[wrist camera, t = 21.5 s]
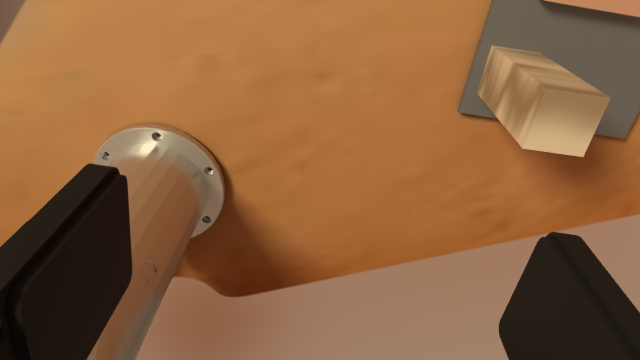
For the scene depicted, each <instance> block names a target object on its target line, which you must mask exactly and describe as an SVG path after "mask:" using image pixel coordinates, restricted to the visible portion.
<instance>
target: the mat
mask: <svg viewBox="0 0 640 360" xmlns="http://www.w3.org/2000/svg"><path fill="white" fill-rule="evenodd" d="M491 46H499V47H505V48H512V49H519V50H525V51H532V52H539V53H541V54H543V55H544V56H546V57H548V58H549V59H551V60H552V61H554V62H555V63H557V64H559V65H560V66H562V67H563V68H565V69H566V70H568V71H570V72H571V73H573V74H574V75H576V76H577V77H579V78H581V79H582V80H584V81H585V82H587V83H588V84H590V85H591V86H593V87H595V88H596V89H598V90H599V91H601V92H602V93H604V94H606V95H607V96H609V97H610V98H611V99H610V101H609V103H608V105H607V107H606V109H605V112H604V114H603V116H602V118H601V120H600V122H599V124H598V127H597V129H596V131H595V133H594V134H597V135H603V136H609V137H616V138H622V139H625V138H626V136H627V134H628V132H629V130H630V128H631V126H632V124H633V123H634V121H635V119H636V117H637V115H638V113H639V111H640V17H636V16H630V15H625V14H619V13H613V12H607V11H601V10H596V9H590V8H584V7H578V6H572V5H567V4H561V3H555V2H549V1H544V0H492V3H491V6H490V9H489V12H488V15H487V19H486V22H485V25H484V28H483V31H482V34H481V37H480V41H479V44H478V47H477V50H476V53H475V56H474V59H473V63H472V66H471V69H470V72H469V75H468V78H467V82H466V85H465V88H464V91H463V94H462V97H461V100H460V104H459V107H458V112H459V113H465V114H471V115H477V116H484V117H490V118H496V119H498V118H497V117H496V116H495V114H494V113H493V112H492V111H491V110H490V108H489V107H488V106H487V105H486V104H485V102H484V101H483V100H482V99H481V98H480V96H479V95H478V94H477V91H478V88H479V84H480V81H481V78H482V75H483V72H484V69H485V65H486V62H487V59H488V56H489V53H490V50H491Z"/></svg>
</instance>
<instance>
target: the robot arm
mask: <svg viewBox="0 0 640 360" xmlns="http://www.w3.org/2000/svg"><path fill="white" fill-rule="evenodd" d="M158 133H159V134H160V135H159V134H158ZM209 167H210V168H212V169H210V168H209ZM224 200H225V183H224V177H223V174H222V172H221V169H220V167H219V165H218V163H217V162H216V160H215V158H214V157H213V156H212V154H211V153H210V152H209V151H208V150H207V149H206V148H205V147H204V146H203V145H202V144H201V143H199V142H198V141H197V140H196V139H194V138H193V137H191V136H189V135H187V134H186V133H184V132H182V131H179V130H177V129H174V128H171V127H168V126H162V125H157V124H141V125H135V126H130V127H127V128H125V129H122V130H120V131H118V132H117V133H115V134H114V135H112V136H111V137H110V138H109V139H108V140H107V141H105V142H104V143H103V144H102V146H101V147H100V148H99V149H98V151H97V153H96V155H95V158H94V160H93V163H92V164H87V165H86V166H85V167H84V168H83V169H82V170H81V171H80V172H79V173H78V174H77V175H76V176H74V177H73V178H72V179H71V180H70V181H69V182H68V183H67V184H66V185H65V186H64V187H63V188H62V189H61V190H60V191H59V192H58V193H57V194H56V195H55V196H54V197H53V198H52V199H51V200H50V201H49V202H48V203H47V204H46V205H45V206H44V207H43V208H42V209H41V210H39V211H38V212H37V213H36V214H35V215H34V216H33V217H32V218H31V219H30V220H29V221H27V222H26V223H25V224H24V225H23V226H22V227H21V228H20V229H19V230H18V231H17V232H16V233H15V234H14V235H13V236H12V237H11V238H10V239H8V240H7V241H6V242H5V243H4V244H3V245H2V246H1V247H0V360H135V359H136V357H137V354H138V352H139V350H140V348H141V345H142V343H143V341H144V339H145V336H146V334H147V332H148V330H149V327H150V325H151V323H152V321H153V319H154V316H155V314H156V312H157V310H158V308H159V306H160V303H161V301H162V299H163V297H164V295H165V292H166V290H167V288H168V286H169V284H170V282H171V279H172V277H173V275H174V273H175V271H176V269H177V267H178V264H179V262H180V260H181V258H182V256H183V254H184V251H185V249H186V247H187V245H188V243H189V240H190V238H193V237H196V236H198V235H199V234H201V233H203V232H205V231H206V230H207V229H208V228H209V227H211V226H212V225H213V223H214V222H215V221H216V219H217V218H218V216H219V214H220V212H221V209H222V207H223V203H224ZM499 335H500V338H501V341H502V343H503V346H504V348H505V351H506V353H507V356H508V358H509V360H640V313H639V311H638V310H637V309H636V307H635V306H634V305H633V304H632V302H631V301H630V300H629V298H628V297H627V296H626V295H625V293H624V292H623V291H622V289H621V288H620V287H619V286H618V284H617V283H616V282H615V280H614V279H613V278H612V277H611V275H610V274H609V273H608V271H607V270H606V269H605V268H604V266H603V265H602V264H601V263H600V261H599V260H598V259H597V257H596V256H595V255H594V253H593V252H592V251H591V250H590V248H589V247H588V246H587V245H586V243H585V242H584V241H583V239H582V238H581V237H579V236H576V235H570V234H564V233H557V232H551V233H549V234H548V235H547V236H546V237H542V238H540V239H539V241H538V242H537V245H536V246H535V249H534V251H533V253H532V255H531V257H530V259H529V261H528V263H527V265H526V267H525V269H524V272H523V274H522V276H521V278H520V280H519V282H518V284H517V286H516V289H515V290H514V293H513V294H512V297H511V299H510V301H509V303H508V305H507V307H506V309H505V311H504V313H503V315H502V318H501V320H500V323H499Z"/></svg>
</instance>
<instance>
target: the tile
mask: <svg viewBox="0 0 640 360" xmlns="http://www.w3.org/2000/svg"><path fill="white" fill-rule="evenodd" d="M544 1H549V2H555V3H561V4H567V5H572V6H578V7H584V8H590V9H596V10H601V11H607V12H613V13H619V14H625V15H630V16H636V17H640V0H544Z"/></svg>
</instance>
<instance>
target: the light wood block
mask: <svg viewBox="0 0 640 360" xmlns="http://www.w3.org/2000/svg"><path fill="white" fill-rule="evenodd" d="M477 94H478V95H479V96H480V98H481V99H482V100H483V101H484V102H485V104H486V105H487V106H488V107H489V108H490V110H491V111H492V112H493V113H494V114H495V116H496V117H497V118H498V119H499V121H500V122H501V123H502V124H503V125H504V127H505V128H506V129H507V130H508V131H509V133H510V134H511V135H512V136H513V138H514V139H515V140H516V141H517V142H518V144H519V145H520V146H521V147H522V148H523V149H529V150H536V151H543V152H551V153H558V154H565V155H572V156H579V157H584V155H585V152H586V150H587V148H588V146H589V144H590V142H591V139H592V137H593V135H594V133H595V131H596V129H597V127H598V124H599V122H600V120H601V118H602V116H603V114H604V112H605V109H606V107H607V105H608V103H609V101H610V99H611V98H610V97H609V96H607V95H606V94H604V93H602V92H601V91H599V90H598V89H596V88H595V87H593V86H591V85H590V84H588V83H587V82H585V81H584V80H582V79H581V78H579V77H577V76H576V75H574V74H573V73H571V72H570V71H568V70H566V69H565V68H563V67H562V66H560V65H559V64H557V63H555V62H554V61H552V60H551V59H549V58H548V57H546V56H544V55H543V54H541V53H539V52H532V51H525V50H519V49H512V48H505V47H499V46H491V50H490V53H489V56H488V59H487V62H486V65H485V69H484V72H483V75H482V78H481V81H480V84H479V88H478V91H477Z"/></svg>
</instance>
